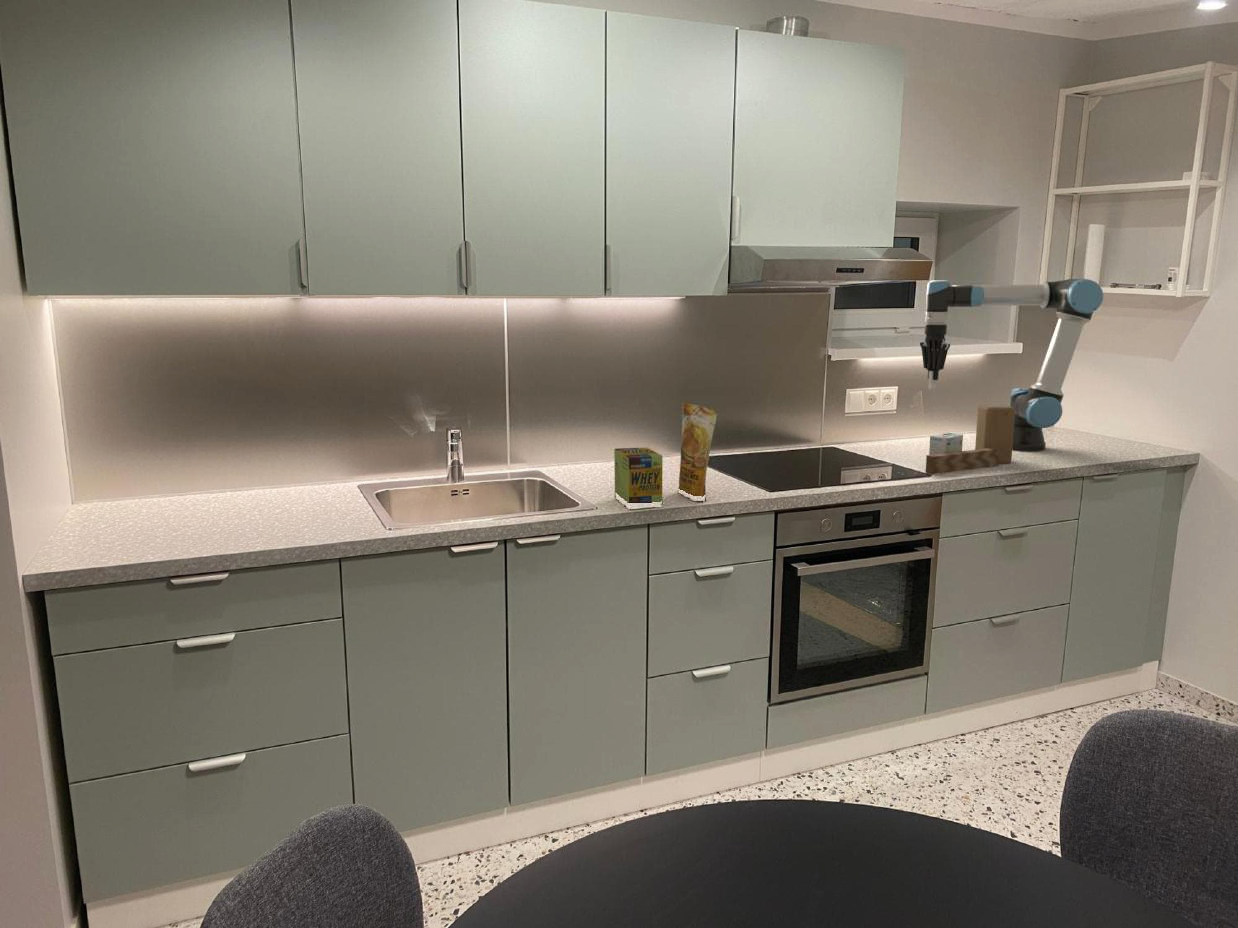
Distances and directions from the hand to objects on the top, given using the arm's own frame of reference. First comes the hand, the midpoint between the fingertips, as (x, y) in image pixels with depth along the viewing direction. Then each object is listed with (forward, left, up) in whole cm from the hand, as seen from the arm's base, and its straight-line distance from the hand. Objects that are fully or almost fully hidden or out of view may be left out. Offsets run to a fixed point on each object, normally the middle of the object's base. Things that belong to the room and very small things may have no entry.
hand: (932, 388), depth 339 cm
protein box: (+130, +18, -25) cm, 133 cm away
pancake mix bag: (+111, +19, -25) cm, 115 cm away
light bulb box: (+10, +18, -25) cm, 32 cm away
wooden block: (-10, +21, -25) cm, 34 cm away
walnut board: (+10, +26, -24) cm, 37 cm away
